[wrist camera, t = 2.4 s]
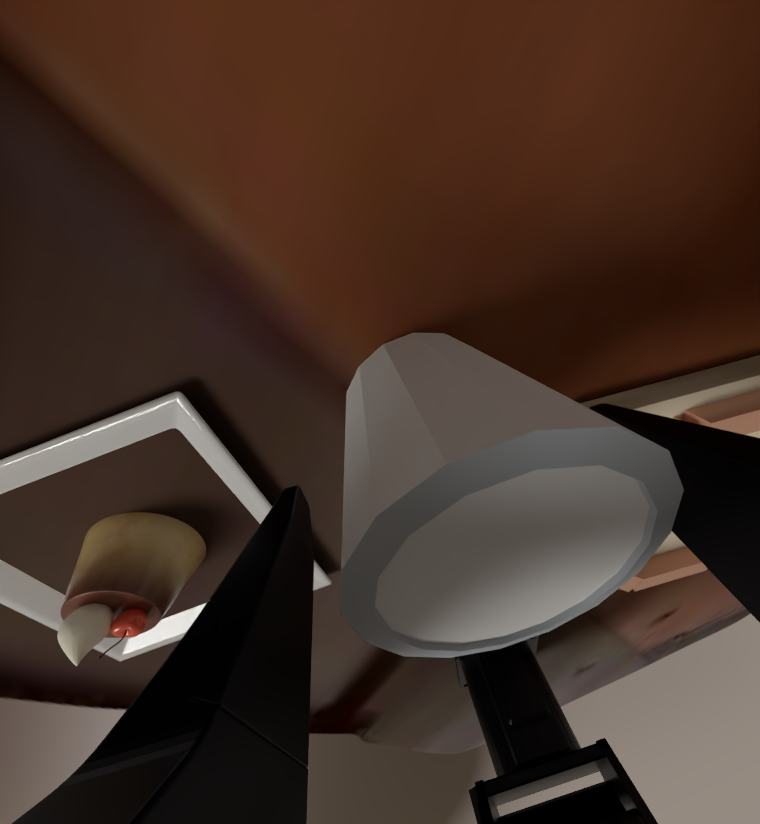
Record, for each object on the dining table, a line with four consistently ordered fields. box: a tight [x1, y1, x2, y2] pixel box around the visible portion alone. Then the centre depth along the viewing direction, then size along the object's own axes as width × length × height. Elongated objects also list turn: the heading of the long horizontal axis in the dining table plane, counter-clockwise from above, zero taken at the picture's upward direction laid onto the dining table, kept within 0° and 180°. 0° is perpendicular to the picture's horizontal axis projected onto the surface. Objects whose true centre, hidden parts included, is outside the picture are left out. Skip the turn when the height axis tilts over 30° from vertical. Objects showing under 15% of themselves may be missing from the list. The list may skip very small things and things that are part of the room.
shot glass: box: [341, 333, 684, 658], centre depth 9 cm, size 7×7×7 cm
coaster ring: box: [619, 390, 760, 592], centre depth 16 cm, size 12×12×1 cm
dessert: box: [0, 392, 332, 666], centre depth 12 cm, size 12×12×5 cm
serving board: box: [579, 355, 760, 557], centre depth 17 cm, size 14×14×1 cm
